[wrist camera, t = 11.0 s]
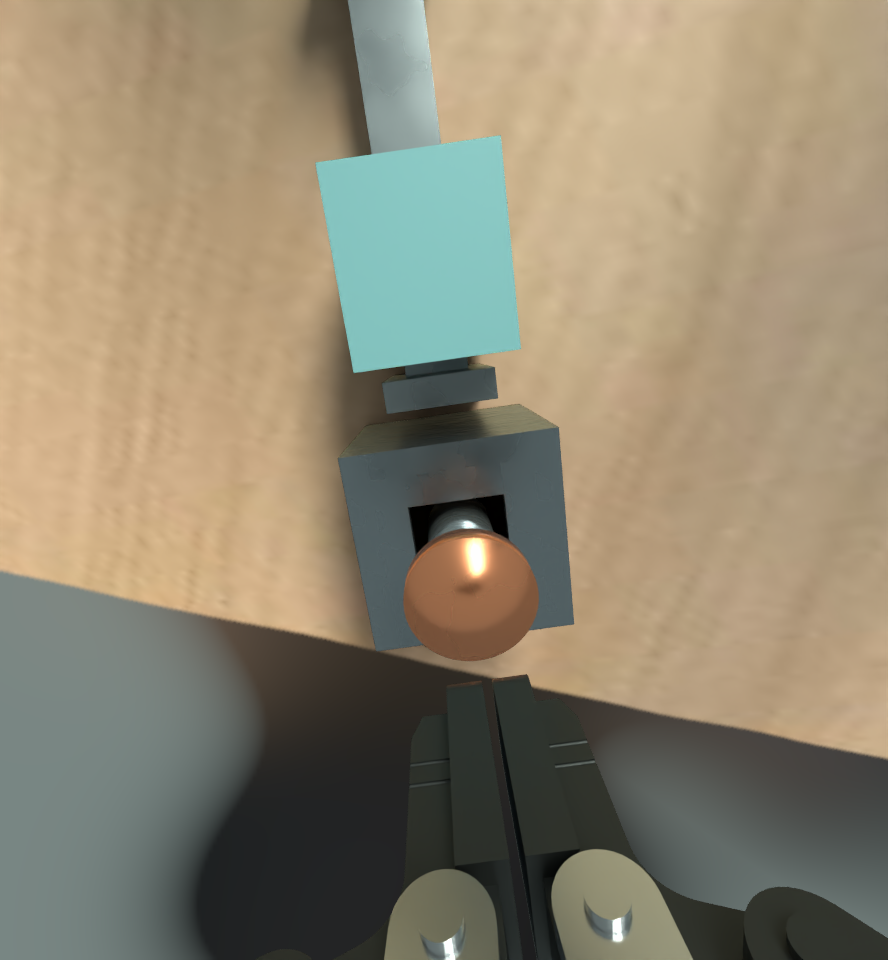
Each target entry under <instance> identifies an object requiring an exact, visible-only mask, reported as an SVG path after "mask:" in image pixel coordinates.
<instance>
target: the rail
mask: <svg viewBox="0 0 888 960" xmlns="http://www.w3.org/2000/svg"><path fill="white" fill-rule="evenodd" d="M348 5H349V11H350V18H351V24H352V31H353V37H354V44H355V50H356V57H357V63H358V69H359V76H360V82H361V89H362V95H363V102H364V108H365V115H366V121H367V128H368V134H369V140H370V147H371V153H372V154H378V153H384V152H391V151H398V150H405V149H412V148H418V147H425V146H432V145H439V144H441V140H440V132H439V124H438V116H437V107H436V99H435V91H434V83H433V75H432V67H431V58H430V50H429V42H428V34H427V26H426V17H425V9H424V1H423V0H348ZM405 373H406V374H402V375H395V376H392V377H391V378H389V379H388V380H386V381H385V382H383V383H382V387H383V393H384V399H385V405H386V411H387V414H391V413H398V412H405V411H412V410H419V409H426V408H433V407H440V406H447V405H454V404H461V403H468V402H475V401H482V400H489V399H496V398H498V393H497V384H496V375H495V367H492V366H488V365H484V364H480V363H479V364H472V365H468V361H467V357H462V358H455V359H448V360H441V361H434V362H427V363H420V364H413V365H406V366H405Z"/></svg>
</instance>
